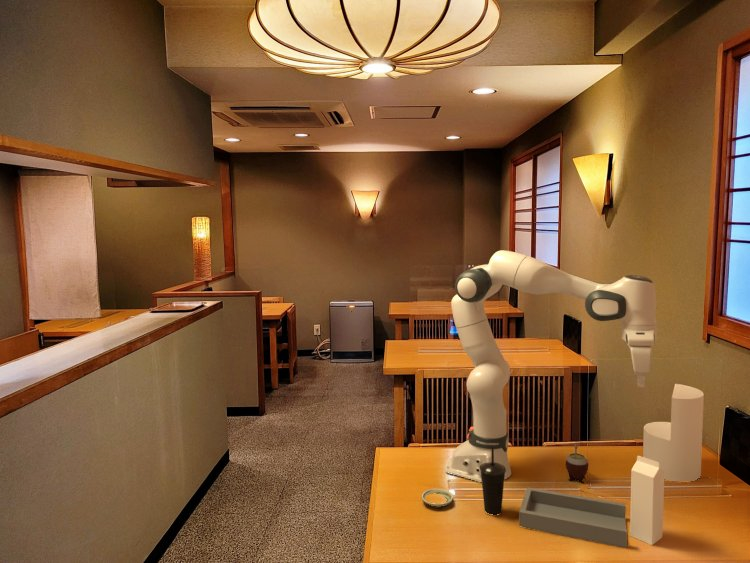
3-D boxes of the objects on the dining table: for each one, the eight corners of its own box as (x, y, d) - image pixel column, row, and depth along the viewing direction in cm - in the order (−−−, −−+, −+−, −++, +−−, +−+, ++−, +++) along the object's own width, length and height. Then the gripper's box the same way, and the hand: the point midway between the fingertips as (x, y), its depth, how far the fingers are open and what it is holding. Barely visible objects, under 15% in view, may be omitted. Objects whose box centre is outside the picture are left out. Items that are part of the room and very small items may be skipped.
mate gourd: (578, 472, 182) (578, 430, 180) (594, 483, 174) (595, 439, 173) (560, 476, 179) (560, 433, 178) (575, 487, 172) (576, 443, 170)
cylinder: (701, 465, 184) (704, 387, 181) (700, 487, 170) (703, 402, 166) (645, 455, 193) (647, 380, 190) (639, 475, 179) (641, 394, 176)
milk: (651, 546, 140) (654, 466, 138) (629, 535, 145) (631, 458, 143) (662, 537, 144) (665, 459, 141) (640, 527, 149) (642, 451, 146)
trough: (519, 526, 151) (519, 511, 150) (526, 501, 164) (526, 487, 164) (626, 548, 140) (626, 531, 139) (625, 518, 153) (625, 503, 153)
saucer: (456, 498, 168) (456, 491, 167) (447, 514, 159) (447, 506, 159) (427, 493, 172) (427, 486, 171) (417, 508, 163) (417, 500, 163)
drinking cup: (507, 506, 162) (507, 443, 159) (504, 520, 154) (504, 454, 152) (481, 503, 164) (481, 440, 162) (478, 516, 157) (477, 451, 155)
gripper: (625, 326, 160) (626, 371, 161) (628, 340, 141) (629, 391, 142) (648, 326, 157) (649, 372, 158) (654, 341, 138) (655, 393, 140)
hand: (640, 381), depth 150 cm, fingers open, 8 cm apart
